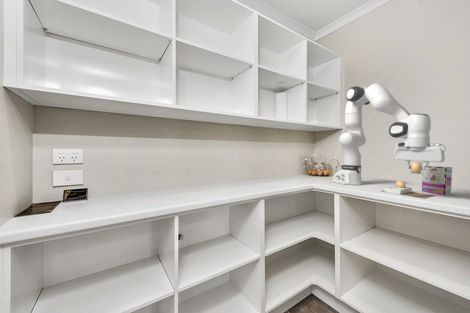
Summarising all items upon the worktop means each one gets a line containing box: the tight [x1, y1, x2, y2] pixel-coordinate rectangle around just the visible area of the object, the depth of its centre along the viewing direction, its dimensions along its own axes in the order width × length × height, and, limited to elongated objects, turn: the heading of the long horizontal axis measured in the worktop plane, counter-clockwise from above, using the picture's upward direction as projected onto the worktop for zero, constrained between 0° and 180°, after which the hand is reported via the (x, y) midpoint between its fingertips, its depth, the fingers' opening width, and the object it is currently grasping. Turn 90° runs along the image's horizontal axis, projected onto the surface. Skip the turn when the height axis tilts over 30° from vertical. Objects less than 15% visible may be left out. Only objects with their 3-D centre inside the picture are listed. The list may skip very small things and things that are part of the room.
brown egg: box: [410, 161, 423, 175], centre depth 103 cm, size 4×4×6 cm
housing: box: [384, 180, 413, 195], centre depth 112 cm, size 8×14×6 cm, turn 118°
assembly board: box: [381, 189, 436, 200], centre depth 109 cm, size 20×15×1 cm
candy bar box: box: [421, 165, 453, 196], centre depth 111 cm, size 11×5×16 cm, turn 13°
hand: (416, 169), depth 103 cm, fingers closed on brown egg, 4 cm apart
